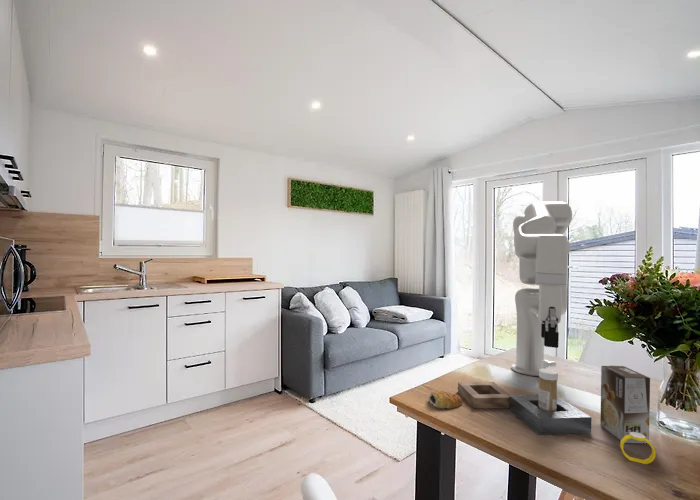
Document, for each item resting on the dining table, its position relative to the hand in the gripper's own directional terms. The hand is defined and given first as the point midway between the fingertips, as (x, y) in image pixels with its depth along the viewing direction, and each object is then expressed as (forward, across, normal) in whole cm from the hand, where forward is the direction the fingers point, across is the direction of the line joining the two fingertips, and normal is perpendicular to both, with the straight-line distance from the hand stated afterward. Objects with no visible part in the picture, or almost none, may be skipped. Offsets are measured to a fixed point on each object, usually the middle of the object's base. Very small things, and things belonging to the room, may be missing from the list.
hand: (549, 342), depth 97 cm
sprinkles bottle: (+22, 0, 0) cm, 22 cm away
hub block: (+21, 0, 0) cm, 21 cm away
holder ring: (+21, -6, -16) cm, 28 cm away
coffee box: (+22, 0, +17) cm, 27 cm away
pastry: (+22, +3, -27) cm, 35 cm away
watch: (+21, +13, +16) cm, 30 cm away
